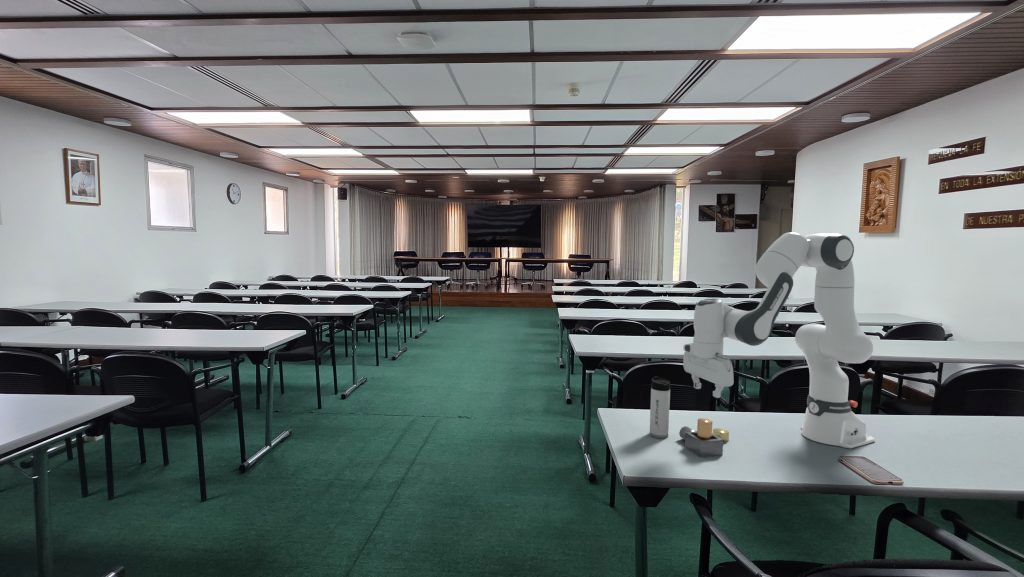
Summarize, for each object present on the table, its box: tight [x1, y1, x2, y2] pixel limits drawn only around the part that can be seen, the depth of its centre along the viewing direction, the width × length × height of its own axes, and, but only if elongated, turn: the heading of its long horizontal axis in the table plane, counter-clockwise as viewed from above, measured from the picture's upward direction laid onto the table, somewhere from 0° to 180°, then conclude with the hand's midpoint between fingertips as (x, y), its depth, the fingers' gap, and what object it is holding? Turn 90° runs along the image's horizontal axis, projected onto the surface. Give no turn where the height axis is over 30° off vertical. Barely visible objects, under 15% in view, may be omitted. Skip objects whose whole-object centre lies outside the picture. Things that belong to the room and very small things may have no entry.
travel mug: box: [649, 376, 671, 439], centre depth 163 cm, size 6×7×20 cm
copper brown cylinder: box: [696, 417, 713, 440], centre depth 150 cm, size 4×4×10 cm
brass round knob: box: [712, 428, 730, 443], centre depth 160 cm, size 5×5×3 cm
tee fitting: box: [678, 425, 724, 458], centre depth 153 cm, size 8×14×5 cm, turn 14°
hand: (706, 392), depth 149 cm, fingers open, 8 cm apart
